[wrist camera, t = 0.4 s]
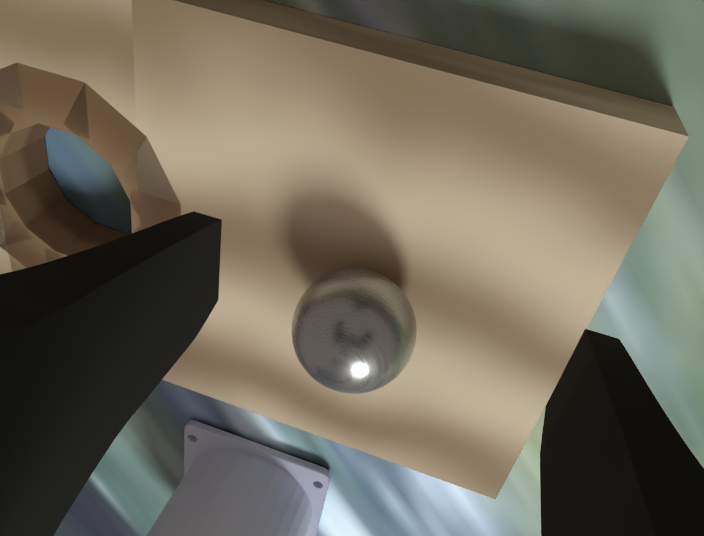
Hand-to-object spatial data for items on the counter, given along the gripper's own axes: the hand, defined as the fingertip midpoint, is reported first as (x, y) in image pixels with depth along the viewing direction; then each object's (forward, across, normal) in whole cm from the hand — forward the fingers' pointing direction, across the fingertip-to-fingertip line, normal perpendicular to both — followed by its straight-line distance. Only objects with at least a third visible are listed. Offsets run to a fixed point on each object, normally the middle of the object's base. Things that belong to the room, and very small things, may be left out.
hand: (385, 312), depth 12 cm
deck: (+10, +7, +5) cm, 13 cm away
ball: (+5, +1, +5) cm, 8 cm away
